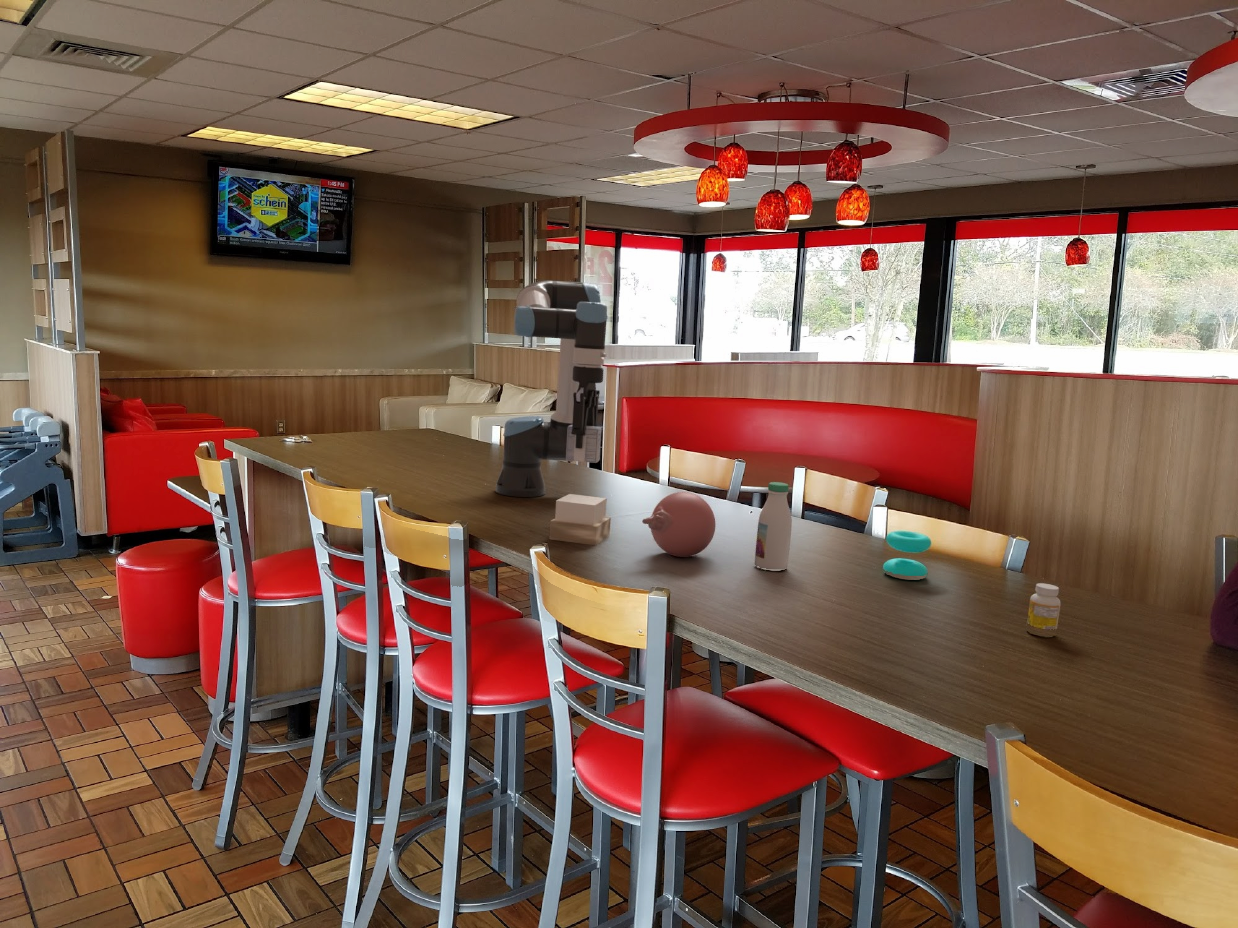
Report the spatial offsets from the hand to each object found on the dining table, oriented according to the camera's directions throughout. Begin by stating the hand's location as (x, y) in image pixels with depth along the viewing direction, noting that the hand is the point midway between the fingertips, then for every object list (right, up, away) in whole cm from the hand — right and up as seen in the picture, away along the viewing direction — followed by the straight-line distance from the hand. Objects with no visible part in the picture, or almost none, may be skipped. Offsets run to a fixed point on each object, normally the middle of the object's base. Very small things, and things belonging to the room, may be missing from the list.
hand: (582, 459), depth 229 cm
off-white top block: (-1, -15, +2) cm, 15 cm away
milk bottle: (+44, -26, -15) cm, 53 cm away
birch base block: (-1, -20, +3) cm, 20 cm away
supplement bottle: (+91, -34, -50) cm, 109 cm away
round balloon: (+22, -23, -11) cm, 34 cm away
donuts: (+76, -28, -14) cm, 82 cm away
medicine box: (0, -1, 0) cm, 1 cm away
